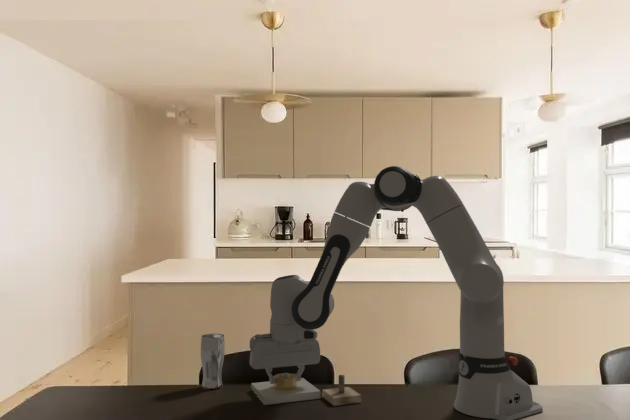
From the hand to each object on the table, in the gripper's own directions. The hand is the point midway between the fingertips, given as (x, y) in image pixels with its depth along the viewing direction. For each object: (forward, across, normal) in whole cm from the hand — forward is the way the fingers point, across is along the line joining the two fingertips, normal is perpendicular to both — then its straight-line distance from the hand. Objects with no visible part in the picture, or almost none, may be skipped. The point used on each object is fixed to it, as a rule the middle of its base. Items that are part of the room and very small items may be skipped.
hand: (285, 382), depth 146 cm
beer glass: (+4, -18, +14) cm, 23 cm away
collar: (+1, 0, 0) cm, 1 cm away
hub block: (+3, 0, 0) cm, 3 cm away
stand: (+3, +13, -10) cm, 17 cm away
